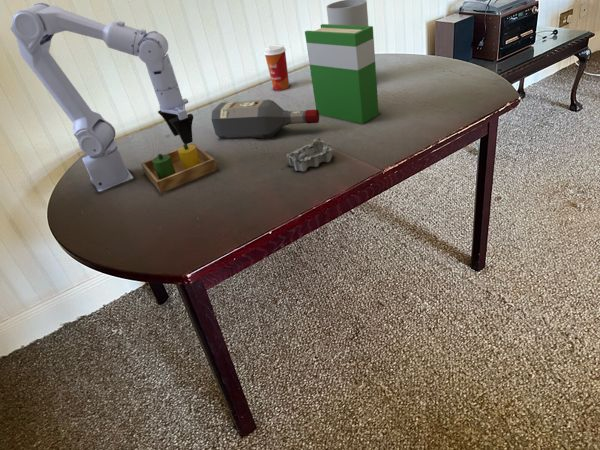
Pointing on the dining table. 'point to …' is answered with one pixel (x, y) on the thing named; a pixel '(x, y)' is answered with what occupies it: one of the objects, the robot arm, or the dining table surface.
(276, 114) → the liquor
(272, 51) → the paper cup
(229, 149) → the dining table surface
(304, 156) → the egg carton
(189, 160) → the yellow pepper
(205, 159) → the wooden tray
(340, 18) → the cylinder vase
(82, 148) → the robot arm
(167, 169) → the green pepper
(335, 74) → the hardback book
